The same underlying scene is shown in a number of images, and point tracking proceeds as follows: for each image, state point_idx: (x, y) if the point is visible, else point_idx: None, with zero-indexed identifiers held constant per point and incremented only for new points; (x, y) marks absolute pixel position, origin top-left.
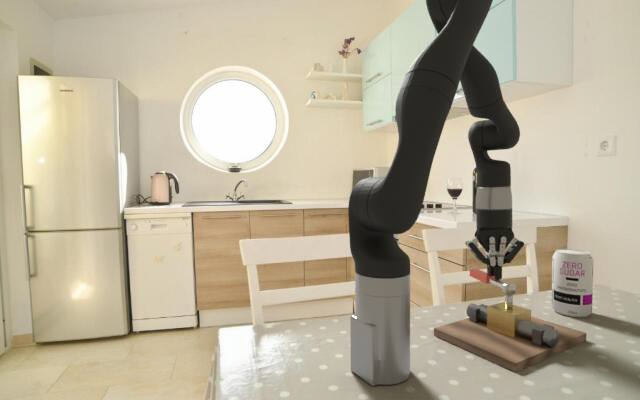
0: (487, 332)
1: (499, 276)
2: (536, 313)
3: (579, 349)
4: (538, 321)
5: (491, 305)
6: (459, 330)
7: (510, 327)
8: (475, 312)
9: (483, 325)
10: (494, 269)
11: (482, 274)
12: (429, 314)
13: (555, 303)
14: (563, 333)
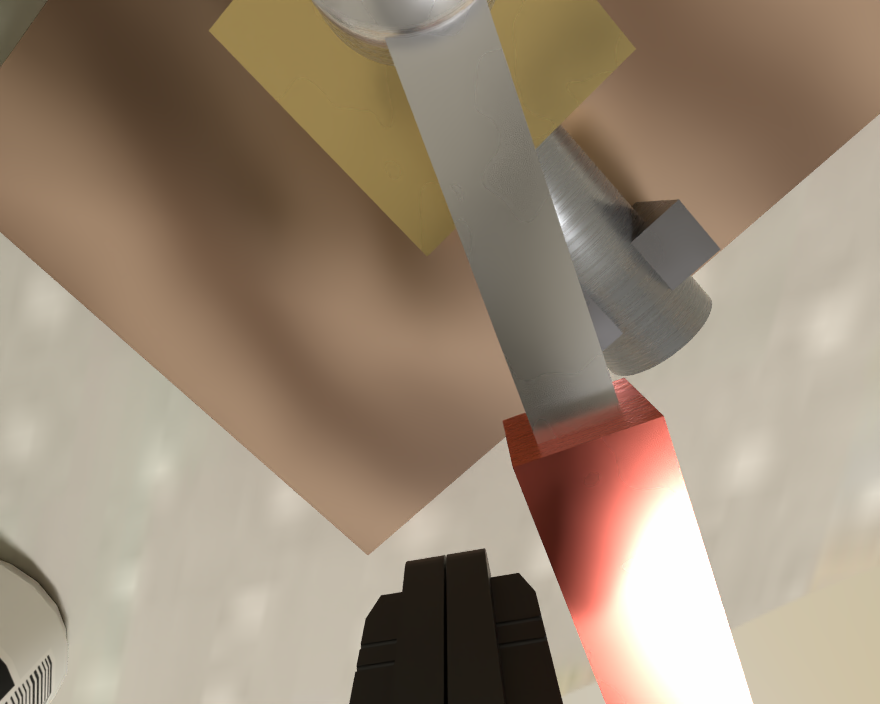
0: None
1: (404, 601)
2: (177, 574)
3: (37, 5)
4: (191, 332)
5: (580, 99)
6: (803, 6)
7: None
8: (669, 201)
9: None
10: (481, 682)
11: (689, 539)
12: (867, 436)
13: (23, 647)
14: (71, 127)
